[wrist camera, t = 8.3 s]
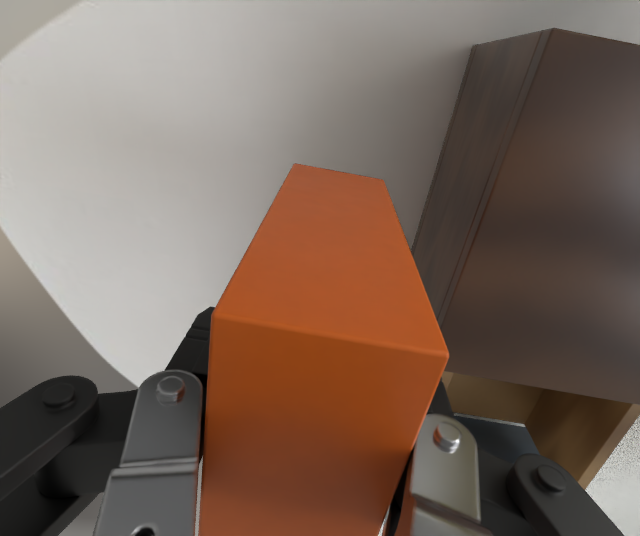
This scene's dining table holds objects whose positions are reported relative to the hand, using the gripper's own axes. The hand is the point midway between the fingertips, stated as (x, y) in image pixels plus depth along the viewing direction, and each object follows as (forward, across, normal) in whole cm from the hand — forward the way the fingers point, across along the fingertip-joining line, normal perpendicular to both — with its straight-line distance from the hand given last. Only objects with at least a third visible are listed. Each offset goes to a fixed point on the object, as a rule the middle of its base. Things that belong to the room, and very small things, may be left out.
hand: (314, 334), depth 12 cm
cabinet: (+16, -14, -2) cm, 21 cm away
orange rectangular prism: (+7, 0, 0) cm, 7 cm away
